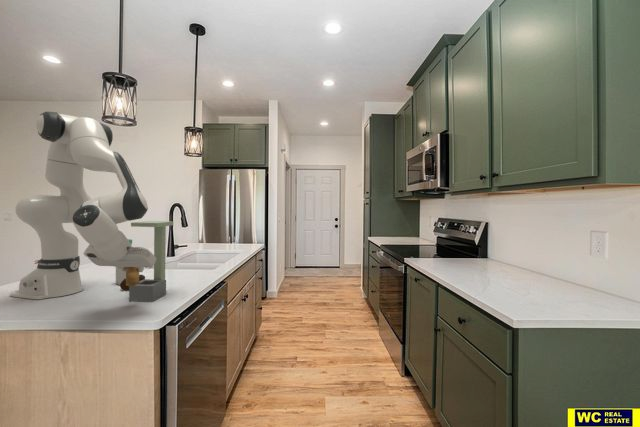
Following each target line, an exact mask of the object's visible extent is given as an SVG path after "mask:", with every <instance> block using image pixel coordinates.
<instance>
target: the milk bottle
mask: <svg viewBox="0 0 640 427" xmlns="http://www.w3.org/2000/svg"><path fill="white" fill-rule="evenodd" d="M127 239H128V238H127ZM128 240H129V242H130V243H131V247H133V239H132V238H131V239H128ZM124 279H126V272H123V271H122V270H121V269H119V268H117V267H115V285H117V286H118V285H119V286H120V284H121V282H122V281H123V280H124Z"/></svg>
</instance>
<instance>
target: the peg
mask: <svg viewBox="0 0 640 427" xmlns="http://www.w3.org/2000/svg"><path fill="white" fill-rule="evenodd" d="M136 269H137V267H126V285H127V286H133V285H138V284H139V275H140V272H137V271H136Z"/></svg>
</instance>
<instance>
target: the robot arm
mask: <svg viewBox="0 0 640 427" xmlns="http://www.w3.org/2000/svg"><path fill="white" fill-rule="evenodd" d="M35 125H36V127H35V128H36V130H37V133H38V135H39V136H40V137H41V139H44V140H45V141H48V142H50V144H49V148H48V151H47V158H46V166H45V174H44V176H45V179H46V181H47V182H48V183H49V184H50V185H53V186H54V187H56V188H58V189H59V190H60V191H59V192H60V195H46V194H45V195H43V194H42V195H41V194H40V195H31V196H24V197H21V199H20V200H18V202H17V203H16V206H15V213H16V216H17V217H18V219H19V220H21V221H22V222H23V223H25V224H27V225H28V226H30V227H31V228H32V229H34V231H35V232H36V233H37V235H38V237H39V240H40V241H39V242H40V249H41V250H40V251H41V258H40V259H38V260H35V261H34V265H35V264H37V265H36V269H34V270H33V271H31V272H29V273H28V274H27V275H25V276H24V277H22V278H21V279H20V281H19V285H18V290H15V291H12V292H11V293H9V296H10V297H14V298H21V299H29V300H30V299H31V300H43V299H49V298H55V297H56V298H57V297H62V296H68V295H72V294H76V293H80V292H82V291H83V290H84V286H83V284H82V280H81V274H80V265H81V264H80V263H81V260H80V255H79V239H78V237H77V235H75V234H74V233H71V232H69V231H66V230H65V229H64V226H63V224H69V223H70V224H73V225H74V227H75V229H76V230H77V232H78V233H79V235H80V236H81V237H82V239H84V241H86V242H87V243H88V244H89V245H88V246H87V247H86V248H85V250H84V252H83V255H84V257H87V258H88V260H90V261H91V262H92V263H93V264H94V265H96V266H98V267H115V268H116V267H117V268H119V269H121V270H122V271H123V272H126V267H137V269H136V271H137V272H139V273H143V271H144V270H145V268H146V269H147V268H148V269H149V268H151V269H152V268H154V264H155V262H156V257H155V256H154V253H152V251H151V250H149V249H148V248H146V247H141V246H132V247H131V243H130V242H129V240H128V238H127V236H126V235H125V234H124V233H123V231H121V230H119V228H118V224H121V223H126V222H129V221H136V220H140V219H142V218H143V217H144V216H145V215H146V213H147V212H148V209H149V206H148V203H147V200H146V198H145V196H144V195H143V194H142V193H141V190H140V189H139V187H138V183H137V182H136V180H135V178H134V176H133V174H132V172H131V170H130V168H129V166H128V164H127V162H126V161H125V159H124V157H123V155H121V154H120V153H119V152H117V151H113V150H112V149H111V145H112V143H113V131H112V129H111V127H109V126H108V125H107V124H104V123H102V122H100V121H98V120H96V119H94V118H92V117H87V116H76V115H75V116H74V115H69V114H62V113H59V112H58V111H57V112H56V111H44V112H42V113H40V114H39V116H38V117H37V120H36V124H35ZM84 169H85V170H89V171H93V172H102V173H103V172H104V173H105V172H106V173H113V174H116V177H117V179H118V182H119V183H120V185H121V187H122V189H121V190H120V191H119V192H116V193H113V194H109V195H104V196H100V197H95V198H92V197H90V196H89V195H88V194H87V192H86V190H85V187H84Z"/></svg>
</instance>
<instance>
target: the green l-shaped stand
mask: <svg viewBox="0 0 640 427" xmlns="http://www.w3.org/2000/svg"><path fill="white" fill-rule="evenodd" d="M168 226H174V221H170V220H168V221H165V220H164V221H163V220H144V221H132V222H130V227H134V228H135V227H138V228H141V227H142V228H143V227H144V228H153V230H154V231H153V232H154V235H153V238H154V239H153V246H154V247H153V255H154V256H155V257H156V262H155V264H154V265H153V280H166V242H167V241H166V238H167V237H166V234H167V233H166V232H167V230H166V229H167V228H166V227H168Z"/></svg>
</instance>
